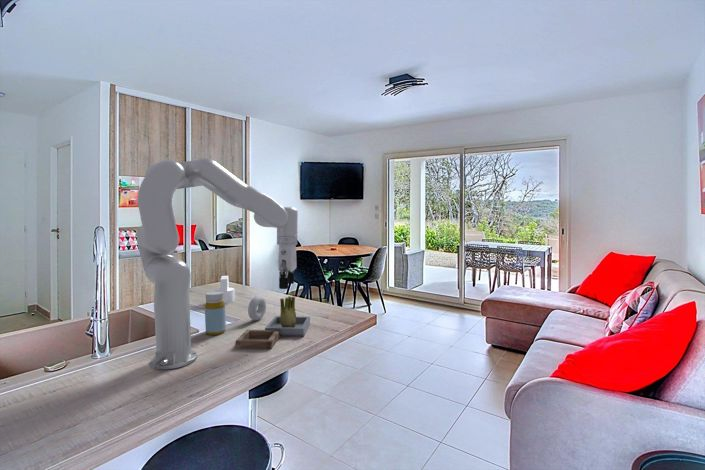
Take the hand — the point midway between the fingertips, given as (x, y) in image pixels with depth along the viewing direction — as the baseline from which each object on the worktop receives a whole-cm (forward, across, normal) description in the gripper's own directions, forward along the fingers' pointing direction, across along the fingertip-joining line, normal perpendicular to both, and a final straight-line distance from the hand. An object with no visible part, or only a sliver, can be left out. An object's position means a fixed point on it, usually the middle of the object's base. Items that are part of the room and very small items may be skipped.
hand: (286, 286), depth 136 cm
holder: (+17, -12, +7) cm, 22 cm away
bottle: (+18, -3, +26) cm, 31 cm away
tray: (+17, +1, -1) cm, 17 cm away
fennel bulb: (+16, +1, -1) cm, 16 cm away
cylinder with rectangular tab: (+17, +40, +40) cm, 59 cm away
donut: (+17, +12, +15) cm, 26 cm away
